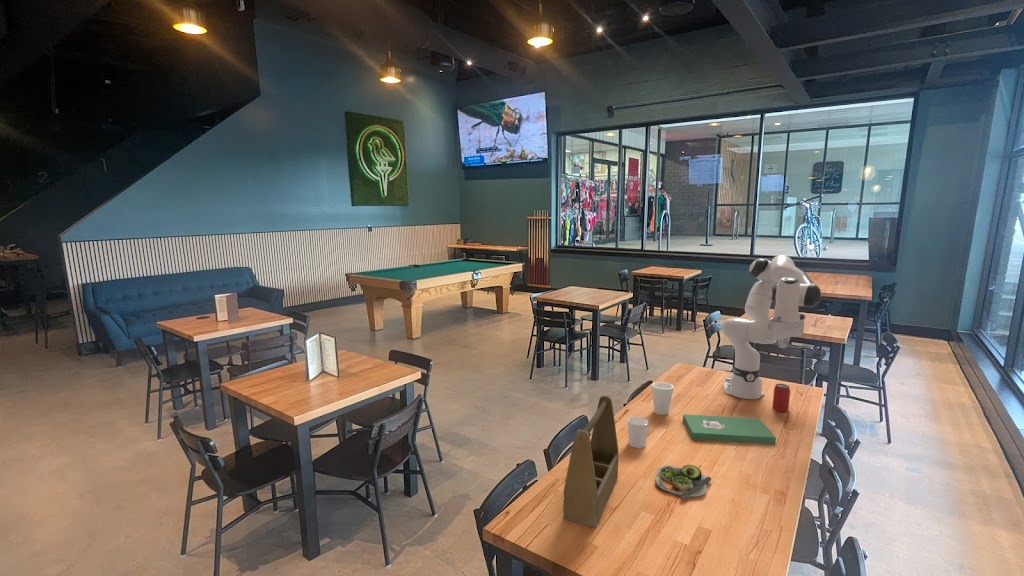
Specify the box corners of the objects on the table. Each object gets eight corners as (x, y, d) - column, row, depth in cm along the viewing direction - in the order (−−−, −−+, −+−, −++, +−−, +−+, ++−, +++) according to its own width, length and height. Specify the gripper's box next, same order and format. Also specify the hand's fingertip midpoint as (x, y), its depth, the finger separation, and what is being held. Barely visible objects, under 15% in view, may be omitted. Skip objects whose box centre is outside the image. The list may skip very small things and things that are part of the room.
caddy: (596, 529, 139) (599, 434, 135) (562, 519, 144) (563, 427, 139) (618, 479, 166) (621, 397, 161) (588, 472, 170) (590, 392, 165)
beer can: (787, 414, 218) (789, 389, 216) (771, 410, 222) (773, 386, 220) (789, 409, 224) (791, 385, 222) (773, 406, 227) (775, 382, 226)
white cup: (624, 446, 189) (625, 422, 187) (629, 437, 196) (630, 415, 194) (644, 450, 185) (645, 426, 183) (649, 442, 192) (650, 419, 190)
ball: (718, 424, 203) (717, 419, 201) (719, 432, 201) (719, 428, 198) (708, 424, 205) (707, 420, 202) (709, 433, 202) (709, 428, 199)
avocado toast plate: (709, 509, 149) (710, 496, 148) (651, 495, 157) (651, 482, 156) (711, 478, 167) (712, 466, 166) (658, 467, 174) (659, 455, 173)
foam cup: (669, 408, 225) (670, 382, 223) (674, 416, 216) (675, 389, 214) (649, 407, 226) (650, 381, 224) (652, 415, 217) (654, 388, 214)
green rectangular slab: (682, 420, 212) (683, 414, 211) (758, 424, 207) (759, 418, 207) (692, 439, 194) (692, 432, 194) (775, 444, 190) (776, 437, 189)
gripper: (776, 320, 193) (773, 352, 196) (808, 315, 202) (805, 346, 204) (762, 317, 199) (759, 348, 201) (794, 312, 207) (791, 342, 210)
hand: (782, 347), depth 203 cm, fingers closed
